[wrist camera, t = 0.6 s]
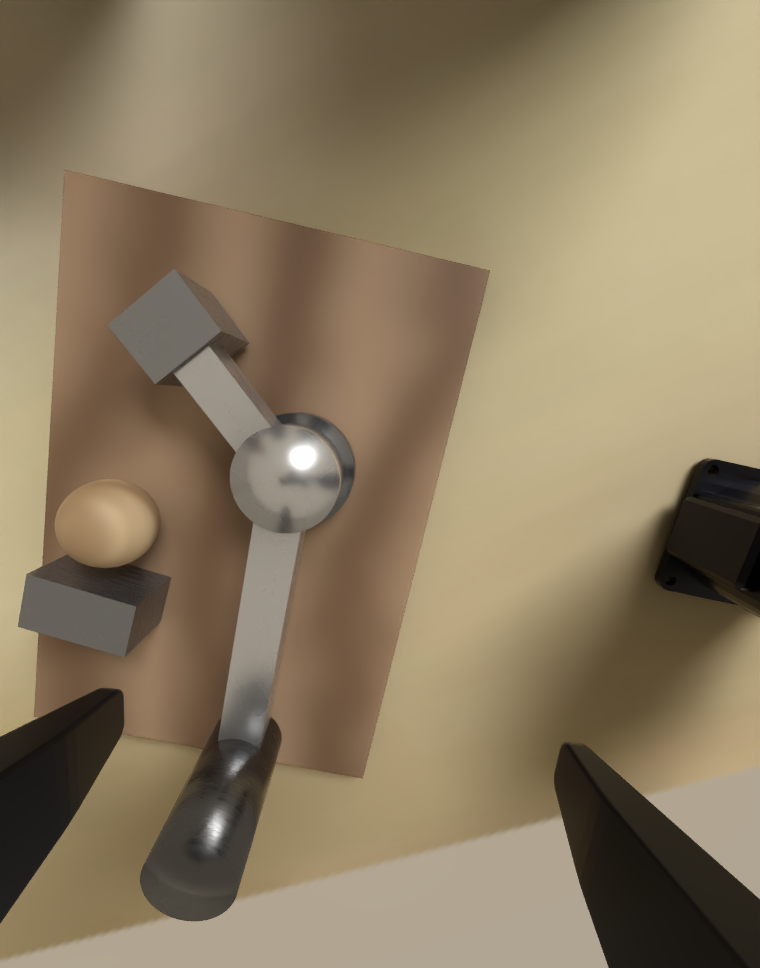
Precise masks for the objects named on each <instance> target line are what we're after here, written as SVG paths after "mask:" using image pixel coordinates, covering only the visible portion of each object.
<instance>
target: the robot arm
mask: <svg viewBox="0 0 760 968" xmlns="http://www.w3.org/2000/svg"><path fill="white" fill-rule="evenodd" d="M710 466H712V471H711V472H710V473H708V469H709V467H710ZM669 576H671V577H670V579H669V581H667V582H666V579H667V577H669ZM655 581H656V583H657V584H658V585H659V586H661V587H662V588H664V589H666V590H669V591H674V592H679V593H683V594H688V595H693V596H698V597H702V598H707V599H712V600H717V601H721V602H726V603H731V604H736V605H739V606H741V607H743V608H745V609H746V610H748V611H750V612H752V613H753V614H755V615H757V616H759V617H760V469H757V468H752V467H748V466H743V465H739V464H734V463H730V462H725V461H721V460H716V459H704V460H702V461H701V462H699V463H698V465H697V467H696V470H695V472H694V475H693V477H692V480H691V483H690V485H689V488H688V491H687V493H686V496H685V499H684V501H683V504H682V507H681V509H680V512H679V515H678V517H677V520H676V522H675V525H674V528H673V530H672V533H671V536H670V538H669V541H668V544H667V546H666V549H665V552H664V554H663V557H662V560H661V562H660V565H659V567H658V570H657V573H656V576H655ZM123 729H124V694H123V692H122V690H120V689H114V688H99V689H97V690H94V691H92V692H90V693H88V694H86V695H84V696H82V697H80V698H78V699H76V700H74V701H72V702H70V703H68V704H66V705H64V706H62V707H60V708H58V709H56V710H54V711H52V712H50V713H48V714H45V715H43V716H41V717H39V718H37V719H35V720H33V721H31V722H29V723H27V724H25V725H23V726H21V727H19V728H17V729H15V730H13V731H11V732H9V733H7V734H5V735H3V736H1V737H0V923H1V922H2V920H3V919H4V917H5V916H6V914H7V913H8V912H9V910H10V909H11V907H12V906H13V904H14V903H15V902H16V900H17V899H18V897H19V896H20V894H21V893H22V891H23V890H24V889H25V887H26V886H27V884H28V883H29V881H30V880H31V878H32V877H33V876H34V874H35V873H36V871H37V870H38V868H39V867H40V866H41V864H42V863H43V861H44V860H45V858H46V857H47V855H48V854H49V853H50V851H51V850H52V848H53V847H54V845H55V844H56V842H57V841H58V840H59V838H60V837H61V835H62V834H63V832H64V831H65V829H66V828H67V826H68V825H69V823H70V822H71V820H72V819H73V817H74V815H75V814H76V812H77V810H78V809H79V807H80V806H81V804H82V802H83V800H84V799H85V797H86V795H87V793H88V792H89V790H90V788H91V787H92V785H93V783H94V781H95V780H96V778H97V776H98V775H99V773H100V771H101V769H102V768H103V766H104V764H105V763H106V761H107V759H108V757H109V756H110V754H111V752H112V751H113V749H114V747H115V745H116V744H117V742H118V740H119V738H120V737H121V734H122V732H123ZM554 786H555V791H556V795H557V799H558V803H559V807H560V810H561V814H562V818H563V822H564V826H565V830H566V834H567V838H568V841H569V845H570V849H571V853H572V857H573V861H574V865H575V868H576V872H577V875H578V879H579V883H580V886H581V889H582V892H583V895H584V898H585V901H586V904H587V907H588V910H589V912H590V915H591V918H592V921H593V924H594V927H595V930H596V932H597V935H598V938H599V941H600V944H601V947H602V950H603V953H604V955H605V958H606V961H607V964H608V967H609V968H760V899H759V898H758V897H756V896H755V895H754V894H753V893H752V892H751V891H750V890H749V889H747V888H746V887H745V886H744V885H743V884H742V883H741V882H739V881H738V880H737V879H736V878H735V877H734V876H733V875H732V874H730V873H729V872H728V871H727V870H726V869H725V868H724V867H723V866H721V865H720V864H719V863H718V862H717V861H716V860H715V859H713V858H712V857H711V856H710V855H709V854H708V853H707V852H706V851H705V850H703V849H702V848H701V847H700V846H699V845H698V844H697V843H695V842H694V841H693V840H692V839H691V838H690V837H689V836H688V835H686V834H685V833H684V832H683V831H682V830H681V829H679V827H677V826H676V825H675V824H674V823H673V822H672V821H671V820H669V819H668V818H667V817H666V816H665V815H664V814H663V813H662V812H661V811H659V810H658V809H657V808H656V807H655V806H654V805H653V804H651V803H650V802H649V801H648V800H647V799H646V798H645V797H644V796H642V795H641V794H640V793H639V792H638V791H637V790H636V789H635V788H633V787H632V786H631V785H630V784H629V783H628V782H627V781H626V780H624V779H623V778H622V777H621V776H620V775H619V774H618V773H617V772H615V771H614V770H613V769H612V768H611V767H610V766H609V765H607V764H606V763H605V762H604V761H603V760H602V759H601V758H600V757H598V756H597V755H596V754H595V753H594V752H593V751H592V750H591V749H589V748H588V747H587V746H586V745H584V744H581V743H572V742H564V743H563V744H562V745H561V748H560V752H559V756H558V760H557V765H556V769H555V773H554Z"/></svg>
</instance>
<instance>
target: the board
mask: <svg viewBox="0 0 760 968" xmlns="http://www.w3.org/2000/svg"><path fill="white" fill-rule="evenodd" d="M173 269H176V270H177V271H179V272H180V273H182V274H184V275H185V276H187V277H188V278H190V279H191V280H193V281H194V282H196V283H198V284H199V285H201V286H202V287H204V288H205V289H207V290H209V291H210V292H212V294H213V295H214V296H215V298H216V299H217V300H218V302H219V303H220V304H221V306H222V307H223V308H224V310H225V311H226V312H227V314H228V315H229V316H230V318H231V319H232V320H233V322H234V323H235V324H236V326H237V327H238V328H239V330H240V331H241V332H242V334H243V335H244V337H245V338H246V339H247V341H248V342H249V343H250V344H248V345H247V346H246V347H245V348H243V349H242V350H241V351H239V352H238V353H237V354H236V355H234V356H233V357H232V359H233V361H234V362H235V363H236V365H237V366H238V367H239V369H240V370H241V371H242V373H243V374H244V375H245V377H246V378H247V379H248V381H249V382H250V383H251V385H252V386H253V387H254V388H255V390H256V391H257V392H258V394H259V395H260V396H261V398H262V399H263V400H264V402H265V403H266V404H267V406H268V407H269V408H270V410H271V411H272V412H273V414H274V415H275V416H277V415H281V414H286V413H294V412H305V413H312V414H315V415H319V416H321V417H323V418H325V419H327V420H329V421H330V422H332V423H333V424H334V425H336V426H337V427H338V428H339V429H340V430H341V431H342V432H343V433H344V435H345V436H346V437H347V439H348V441H349V443H350V445H351V447H352V449H353V452H354V456H355V463H356V473H355V480H354V483H353V486H352V489H351V492H350V494H349V496H348V498H347V500H346V502H345V503H344V505H343V506H342V507H341V508H340V509H339V510H338V511H337V512H336V513H335V514H334V515H333V516H331V517H330V518H328V519H327V520H325V521H323V522H320V523H318V524H317V525H315V526H314V527H312V528H310V529H307V530H306V534H305V539H304V544H303V550H302V555H301V560H300V565H299V571H298V576H297V581H296V586H295V592H294V597H293V602H292V608H291V613H290V618H289V623H288V629H287V634H286V639H285V644H284V650H283V655H282V660H281V665H280V671H279V676H278V681H277V686H276V692H275V697H274V702H273V707H272V713H271V717H272V718H273V719H274V720H275V721H276V723H277V724H278V726H279V728H280V731H281V735H282V742H281V746H280V750H279V753H278V756H277V760H276V762H277V763H283V764H288V765H293V766H299V767H304V768H309V769H315V770H320V771H325V772H331V773H336V774H341V775H346V776H352V777H357V778H362V779H363V775H364V771H365V767H366V763H367V759H368V755H369V751H370V747H371V743H372V739H373V735H374V731H375V727H376V723H377V719H378V715H379V711H380V707H381V703H382V699H383V695H384V691H385V687H386V683H387V679H388V675H389V671H390V667H391V663H392V659H393V655H394V651H395V647H396V643H397V639H398V635H399V631H400V627H401V623H402V619H403V615H404V612H405V608H406V604H407V600H408V596H409V592H410V588H411V584H412V580H413V576H414V572H415V568H416V564H417V560H418V556H419V552H420V548H421V544H422V540H423V536H424V532H425V528H426V524H427V520H428V516H429V512H430V508H431V504H432V500H433V496H434V492H435V488H436V484H437V480H438V476H439V472H440V468H441V464H442V460H443V456H444V452H445V448H446V444H447V440H448V436H449V432H450V428H451V424H452V420H453V416H454V412H455V408H456V404H457V400H458V396H459V392H460V388H461V384H462V380H463V376H464V372H465V368H466V364H467V360H468V356H469V352H470V348H471V344H472V340H473V336H474V332H475V329H476V325H477V321H478V317H479V313H480V309H481V305H482V301H483V297H484V293H485V289H486V285H487V281H488V277H489V273H490V270H485V269H481V268H477V267H473V266H469V265H464V264H460V263H456V262H452V261H447V260H443V259H439V258H435V257H431V256H426V255H422V254H418V253H414V252H409V251H405V250H401V249H397V248H393V247H388V246H384V245H380V244H376V243H371V242H367V241H363V240H359V239H355V238H350V237H346V236H342V235H338V234H333V233H329V232H325V231H321V230H317V229H312V228H308V227H304V226H300V225H295V224H291V223H287V222H283V221H279V220H274V219H270V218H266V217H262V216H257V215H253V214H249V213H245V212H241V211H236V210H232V209H228V208H224V207H219V206H215V205H211V204H207V203H203V202H198V201H194V200H190V199H186V198H181V197H177V196H173V195H169V194H165V193H160V192H156V191H152V190H148V189H144V188H139V187H135V186H131V185H127V184H122V183H118V182H114V181H110V180H106V179H101V178H97V177H93V176H89V175H84V174H80V173H76V172H72V171H68V170H65V174H64V192H63V210H62V228H61V245H60V263H59V281H58V299H57V317H56V334H55V352H54V370H53V388H52V405H51V423H50V441H49V459H48V477H47V494H46V512H45V530H44V548H43V566H44V565H47V564H49V563H51V562H53V561H55V560H57V559H59V558H61V557H63V556H65V555H67V553H66V552H65V551H64V550H63V549H62V547H61V546H60V544H59V542H58V540H57V537H56V534H55V518H56V514H57V511H58V509H59V507H60V506H61V504H62V502H63V501H64V500H65V499H66V497H67V496H68V495H70V494H71V493H72V492H73V491H74V490H76V489H78V488H79V487H81V486H83V485H85V484H88V483H90V482H94V481H98V480H105V479H116V480H123V481H127V482H130V483H133V484H135V485H137V486H139V487H140V488H142V489H143V490H145V491H146V492H147V493H148V494H149V495H150V496H151V497H152V498H153V500H154V501H155V503H156V505H157V507H158V509H159V513H160V520H161V521H160V530H159V533H158V536H157V538H156V540H155V542H154V544H153V545H152V546H151V548H150V549H149V550H148V551H147V552H146V553H145V554H143V555H142V556H141V557H139V558H138V559H136V560H134V561H132V562H130V563H128V564H130V565H133V566H136V567H140V568H143V569H146V570H149V571H153V572H156V573H159V574H163V575H166V576H169V577H171V582H170V586H169V590H168V594H167V598H166V602H165V606H164V610H163V614H162V618H161V622H160V623H159V624H158V625H157V626H156V627H155V628H154V629H153V630H152V631H151V632H150V633H149V634H148V635H147V636H146V637H145V638H144V639H143V640H142V641H141V642H140V643H139V644H138V645H137V646H136V647H135V648H134V649H133V650H132V651H131V652H130V653H129V654H128V655H127V656H126V657H121V656H118V655H114V654H111V653H107V652H104V651H100V650H97V649H93V648H90V647H87V646H83V645H80V644H76V643H73V642H69V641H66V640H62V639H59V638H55V637H52V636H49V635H45V634H42V633H39V637H38V655H37V672H36V690H35V708H34V717H38V718H39V717H41V716H43V715H45V714H48V713H50V712H52V711H54V710H56V709H58V708H60V707H62V706H64V705H66V704H68V703H70V702H72V701H74V700H76V699H78V698H80V697H82V696H84V695H86V694H88V693H90V692H92V691H94V690H97V689H99V688H114V689H120V690H122V692H123V694H124V729H123V732H122V733H123V734H128V735H134V736H139V737H144V738H149V739H155V740H160V741H165V742H171V743H176V744H181V745H187V746H192V747H197V748H203V749H204V747H205V745H206V743H207V741H208V739H209V737H210V736H211V734H212V732H213V730H214V728H215V726H216V724H217V722H218V720H219V719H220V718H221V717H222V712H223V706H224V700H225V694H226V688H227V682H228V675H229V669H230V663H231V657H232V651H233V645H234V638H235V632H236V626H237V620H238V614H239V608H240V602H241V595H242V589H243V583H244V577H245V571H246V565H247V558H248V552H249V546H250V540H251V534H252V528H253V522H252V521H251V520H250V519H249V518H248V517H246V516H245V514H244V513H243V512H242V511H241V510H240V508H239V507H238V505H237V503H236V501H235V499H234V497H233V494H232V491H231V486H230V468H231V464H232V461H233V458H234V456H235V454H236V452H235V450H234V449H233V448H232V446H231V445H230V444H229V443H228V441H227V440H226V439H225V438H224V436H223V435H222V434H221V433H220V431H219V430H218V429H217V427H216V426H215V425H214V424H213V422H212V421H211V420H210V419H209V417H208V416H207V415H206V414H205V412H204V411H203V410H202V408H201V407H200V406H199V405H198V403H197V402H196V401H195V400H194V398H193V397H192V396H191V395H190V393H189V392H188V391H187V390H186V388H185V387H183V386H170V385H156V384H154V382H153V381H152V380H151V379H150V377H149V376H148V375H147V374H146V372H145V371H144V370H143V369H142V367H141V366H140V365H139V364H138V363H137V361H136V360H135V359H134V358H133V356H132V355H131V354H130V353H129V351H128V350H127V349H126V348H125V346H124V345H123V344H122V343H121V341H120V340H119V339H118V338H117V336H116V335H115V334H114V333H113V331H112V330H111V329H110V328H109V326H108V324H109V323H110V322H112V321H113V320H114V319H115V318H116V317H117V316H119V315H120V314H121V313H122V312H123V311H125V310H126V309H127V308H128V307H129V306H130V305H132V304H133V303H134V302H135V301H136V300H138V299H139V298H140V297H141V296H142V295H144V294H145V293H146V292H147V291H148V290H149V289H151V288H152V287H153V286H154V285H155V284H157V283H158V282H159V281H160V280H161V279H162V278H164V277H165V276H166V275H167V274H168V273H170V272H171V271H172V270H173Z"/></svg>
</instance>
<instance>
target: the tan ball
mask: <svg viewBox="0 0 760 968" xmlns="http://www.w3.org/2000/svg"><path fill="white" fill-rule="evenodd" d="M160 521H161V520H160V513H159V509H158V507H157V505H156V503H155V501H154V500H153V498H152V497H151V496H150V495H149V494H148V493H147V492H146V491H145V490H143V489H142V488H140V487H139V486H137V485H135V484H133V483H130V482H127V481H123V480H116V479H105V480H98V481H94V482H90V483H88V484H85V485H83V486H81V487H79V488H78V489H76V490H74V491H73V492H72V493H71V494H70V495H68V496H67V497H66V499H65V500H64V501H63V502H62V504H61V506H60V507H59V509H58V511H57V514H56V518H55V534H56V537H57V540H58V542H59V544H60V546H61V547H62V549H63V550H64V551H65V552H66V553H67V554H68V555H69V556H70V557H71V558H73V559H74V560H76V561H78V562H80V563H82V564H85V565H88V566H92V567H98V568H111V567H118V566H122V565H125V564H128V563H130V562H132V561H134V560H136V559H138V558H139V557H141V556H142V555H143V554H145V553H146V552H147V551H148V550H149V549H150V548H151V546H152V545H153V544H154V542H155V540H156V538H157V536H158V533H159V530H160Z"/></svg>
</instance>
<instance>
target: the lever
mask: <svg viewBox="0 0 760 968" xmlns="http://www.w3.org/2000/svg"><path fill="white" fill-rule="evenodd" d="M108 326H109V328H110V329H111V330H112V331H113V333H114V334H115V335H116V336H117V338H118V339H119V340H120V341H121V343H122V344H123V345H124V346H125V348H126V349H127V350H128V351H129V353H130V354H131V355H132V356H133V358H134V359H135V360H136V361H137V363H138V364H139V365H140V366H141V367H142V369H143V370H144V371H145V372H146V374H147V375H148V376H149V377H150V379H151V380H152V381H153V382H154V384H156V385H170V386H183V387H185V388H186V390H187V391H188V392H189V393H190V395H191V396H192V397H193V398H194V400H195V401H196V402H197V403H198V405H199V406H200V407H201V408H202V410H203V411H204V412H205V414H206V415H207V416H208V417H209V419H210V420H211V421H212V422H213V424H214V425H215V426H216V427H217V429H218V430H219V431H220V433H221V434H222V435H223V436H224V438H225V439H226V440H227V441H228V443H229V444H230V445H231V446H232V448H233V449H234V450H235V452H236V454H235V456H234V458H233V461H232V464H231V468H230V486H231V491H232V494H233V497H234V499H235V501H236V503H237V505H238V507H239V508H240V510H241V511H242V512H243V513H244V514H245V516H246V517H248V518H249V519H250V520H251V521H252V522H253V528H252V534H251V540H250V546H249V552H248V558H247V565H246V571H245V577H244V583H243V589H242V595H241V602H240V608H239V614H238V620H237V626H236V632H235V638H234V645H233V651H232V657H231V663H230V669H229V675H228V682H227V688H226V694H225V700H224V706H223V712H222V717H221V718H220V719H219V720H218V722H217V724H216V726H215V728H214V730H213V732H212V734H211V736H210V737H209V739H208V741H207V743H206V745H205V747H204V749H203V751H202V753H201V755H200V757H199V759H198V761H197V763H196V765H195V767H194V769H193V770H192V772H191V774H190V776H189V778H188V780H187V782H186V784H185V786H184V788H183V790H182V792H181V794H180V796H179V798H178V800H177V802H176V803H175V805H174V807H173V809H172V811H171V813H170V815H169V817H168V819H167V821H166V823H165V825H164V827H163V829H162V831H161V833H160V835H159V837H158V838H157V840H156V842H155V844H154V846H153V848H152V850H151V852H150V854H149V856H148V858H147V860H146V862H145V864H144V866H143V868H142V871H141V875H140V883H141V888H142V891H143V893H144V895H145V897H146V898H147V900H148V901H149V902H150V903H151V904H152V905H153V906H154V907H155V908H156V909H157V910H159V911H160V912H162V913H164V914H165V915H168V916H170V917H173V918H176V919H179V920H184V921H185V920H186V921H203V920H208V919H211V918H214V917H217V916H219V915H220V914H222V913H223V912H225V911H226V910H227V909H228V908H229V907H230V906H231V905H232V903H233V902H234V900H235V898H236V895H237V892H238V888H239V885H240V881H241V878H242V875H243V871H244V868H245V864H246V861H247V858H248V854H249V851H250V848H251V844H252V841H253V837H254V834H255V831H256V827H257V824H258V821H259V817H260V814H261V810H262V807H263V804H264V800H265V797H266V793H267V790H268V787H269V783H270V780H271V777H272V773H273V770H274V766H275V763H276V760H277V756H278V753H279V750H280V746H281V742H282V735H281V731H280V728H279V726H278V724H277V723H276V721H275V720H274V719H273V718H272V717H271V713H272V707H273V702H274V697H275V692H276V686H277V681H278V676H279V671H280V665H281V660H282V655H283V650H284V644H285V639H286V634H287V629H288V623H289V618H290V613H291V608H292V602H293V597H294V592H295V586H296V581H297V576H298V571H299V565H300V560H301V555H302V550H303V544H304V539H305V534H306V530H307V529H310V528H312V527H314V526H315V525H317V524H318V523H320V522H321V521H322V520H323V519H324V518H325V517H326V516H327V515H328V514H329V512H330V511H331V509H332V508H333V506H334V504H335V502H336V500H337V498H338V495H339V493H340V491H341V488H342V484H343V479H344V468H343V463H342V459H341V456H340V454H339V451H338V450H337V448H336V446H335V445H334V444H333V442H332V441H331V440H330V439H329V438H328V437H327V436H326V435H325V434H323V433H322V432H320V431H319V430H317V429H315V428H313V427H311V426H307V425H304V424H298V423H288V424H281V423H280V421H279V420H278V419H277V418H276V416H275V415H274V414H273V412H272V411H271V410H270V408H269V407H268V406H267V404H266V403H265V402H264V400H263V399H262V398H261V396H260V395H259V394H258V392H257V391H256V390H255V388H254V387H253V386H252V385H251V383H250V382H249V381H248V379H247V378H246V377H245V375H244V374H243V373H242V371H241V370H240V369H239V367H238V366H237V365H236V363H235V362H234V361H233V359H232V357H233V356H234V355H236V354H237V353H238V352H239V351H241V350H242V349H243V348H245V347H246V346H247V345H248V344H250V343H249V342H248V341H247V339H246V338H245V337H244V335H243V334H242V332H241V331H240V330H239V328H238V327H237V326H236V324H235V323H234V322H233V320H232V319H231V318H230V316H229V315H228V314H227V312H226V311H225V310H224V308H223V307H222V306H221V304H220V303H219V302H218V300H217V299H216V298H215V296H214V295H213V294H212V292H210V291H209V290H207V289H205V288H204V287H202V286H201V285H199V284H198V283H196V282H194V281H193V280H191V279H190V278H188V277H187V276H185V275H184V274H182V273H180V272H179V271H177V270H176V269H173V270H172V271H171V272H170V273H168V274H167V275H166V276H165V277H164V278H162V279H161V280H160V281H159V282H158V283H157V284H155V285H154V286H153V287H152V288H151V289H149V290H148V291H147V292H146V293H145V294H144V295H142V296H141V297H140V298H139V299H138V300H136V301H135V302H134V303H133V304H132V305H130V306H129V307H128V308H127V309H126V310H125V311H123V312H122V313H121V314H120V315H119V316H117V317H116V318H115V319H114V320H113V321H112V322H110V323H109V324H108Z"/></svg>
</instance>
